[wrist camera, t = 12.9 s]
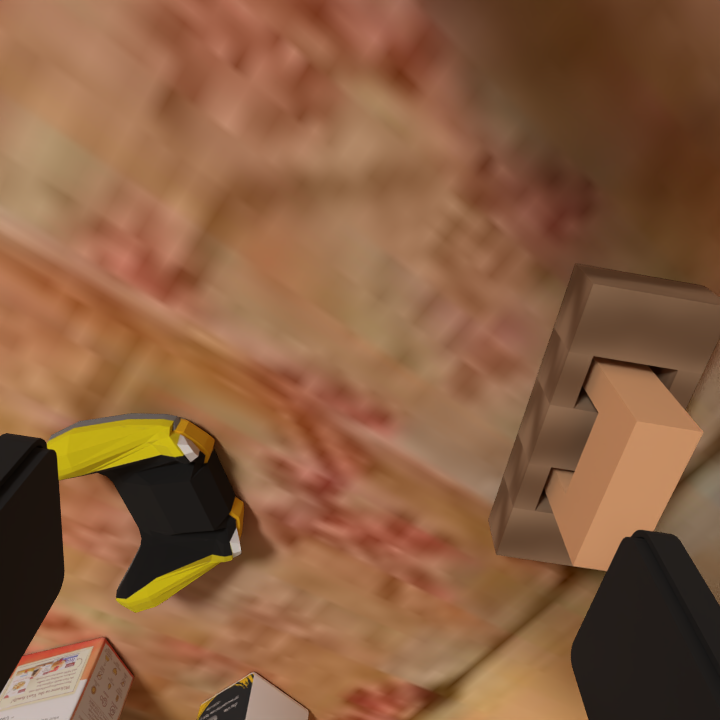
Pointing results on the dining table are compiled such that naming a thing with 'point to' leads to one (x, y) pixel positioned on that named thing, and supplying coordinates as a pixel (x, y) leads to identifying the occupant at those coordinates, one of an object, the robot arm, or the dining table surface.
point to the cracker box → (68, 684)
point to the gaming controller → (159, 497)
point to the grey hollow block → (570, 400)
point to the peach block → (621, 462)
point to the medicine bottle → (252, 702)
